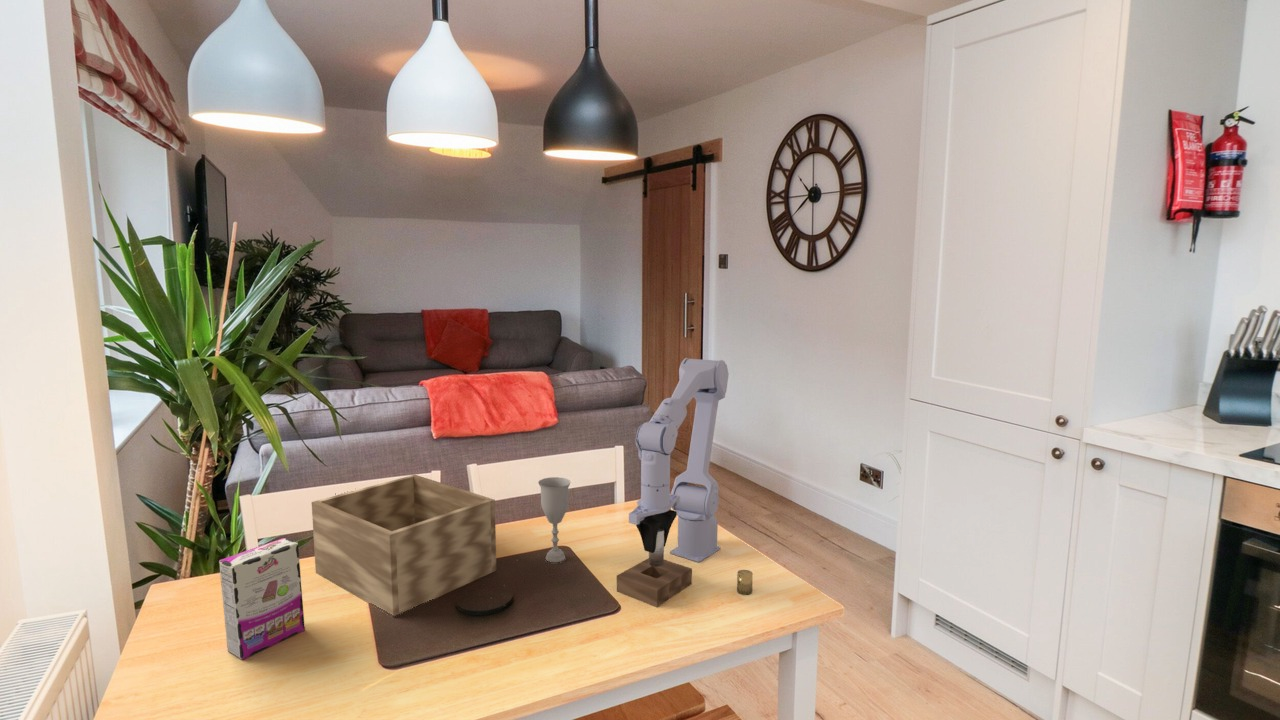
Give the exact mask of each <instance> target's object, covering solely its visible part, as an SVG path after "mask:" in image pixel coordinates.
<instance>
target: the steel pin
mask: <svg viewBox="0 0 1280 720" xmlns="http://www.w3.org/2000/svg"><path fill="white" fill-rule="evenodd" d="M664 557H665V547H664V529H663V528H660V527H659V529H658V533H657V539H656V549H655V552H654V553H650V552H648V558H649V565H651V566H654V567H659V566H662V565H663V564H664V560H665V558H664Z"/></svg>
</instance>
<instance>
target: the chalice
mask: <svg viewBox="0 0 1280 720" xmlns="http://www.w3.org/2000/svg"><path fill="white" fill-rule="evenodd" d="M537 483H538V485H539V487H540V506H541V508H542V511H543V514H544V515H545V518H546V519H547V521H548V523H550V524H552V530H551V534H552V538H551V540H550V541H551V542H552V547H551V549H549V550H547V553H546V555H545V559H546V560H547V561H550V562H559V561H562V560H564V559H565V560H566V556H565V553H564V551H563V550H562V549H560V548H559V546H558V542H559V541H560V539H559V537H558V534H559V529H558V525H559V524H560V523H562V521H563V519H564V517H565V515H566V513H567V511H568V506H569V487H570V485H571V483H572V482H571V480H570V479H568V478H566V477H565V478H564V477H559V476H558V477H557V476H555V477H554V476H553V477H545V478H542V479H540V480H539V481H538V482H537ZM546 560H545V561H546ZM565 560H564V561H565ZM547 561H546V562H547Z"/></svg>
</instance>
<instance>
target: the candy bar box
mask: <svg viewBox="0 0 1280 720" xmlns="http://www.w3.org/2000/svg"><path fill="white" fill-rule="evenodd" d="M218 565H219V573H220V575H219V576H220V583H221V584H220V585H221V596H222V597H221V598H222V604H223V605H222V606H223V616H224V628H225V636H226V644H227V647H226V648H227V652H228V653H229V654H231V655H233V656H235V657H237V658H238V659H239V660H246V659H249V657H252V656H254V655H257V654H258V653H260V652H262V651H264V650H267V649H268V648H271V647H273V646H275V645H277V644H279V643H281V642H283V641H285V640H287V639H289V638H291V637H294V636H296V635H297V634H300V633H302V632H303V631H305V629H306V627H305V614H304V600H303V592H302V591H303V590H302V578H301V577H302V576H301V575H302V574H301V564H300V552H299V543H298V542H296V541H294V540H290V539H288V538H285V537H282V538H280V539H279V538H278V539H277V540H274V541H271V542H268V543H265V544H263V545H259V546H256V547H254V548H250V549H247V550H245V551H244V550H243V551H242V552H238V553H236V554H233V555H231V556H230V555H229V556H228V557H225V558H222V559H219V561H218Z"/></svg>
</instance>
